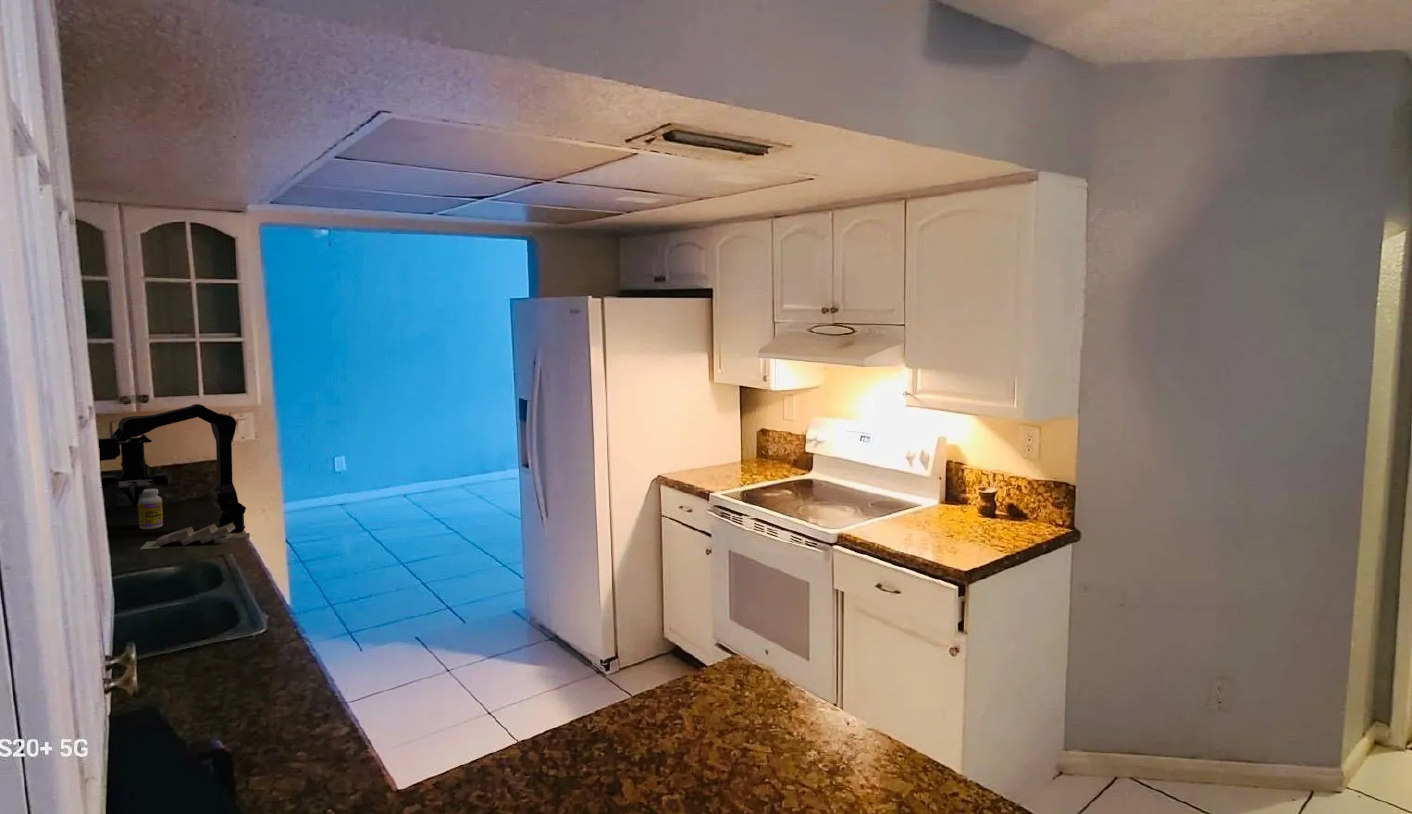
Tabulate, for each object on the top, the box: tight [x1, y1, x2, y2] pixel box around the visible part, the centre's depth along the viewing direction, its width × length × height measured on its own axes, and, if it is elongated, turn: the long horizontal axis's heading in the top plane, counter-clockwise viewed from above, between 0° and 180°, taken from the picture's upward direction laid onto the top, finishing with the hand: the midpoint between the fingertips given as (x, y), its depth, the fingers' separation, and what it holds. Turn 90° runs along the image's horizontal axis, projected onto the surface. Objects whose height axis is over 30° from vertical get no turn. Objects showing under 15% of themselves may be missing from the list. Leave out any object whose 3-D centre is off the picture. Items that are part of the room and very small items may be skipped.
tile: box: [155, 526, 195, 547], centre depth 248 cm, size 2×5×9 cm
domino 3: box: [213, 532, 251, 544], centre depth 254 cm, size 2×5×9 cm
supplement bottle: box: [137, 488, 164, 530], centre depth 266 cm, size 7×7×13 cm
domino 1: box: [179, 523, 219, 546], centre depth 250 cm, size 2×5×9 cm
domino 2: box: [198, 522, 235, 545], centre depth 251 cm, size 2×5×9 cm
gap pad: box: [139, 540, 163, 550], centre depth 247 cm, size 5×8×1 cm, turn 22°
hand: (135, 507), depth 244 cm, fingers closed
